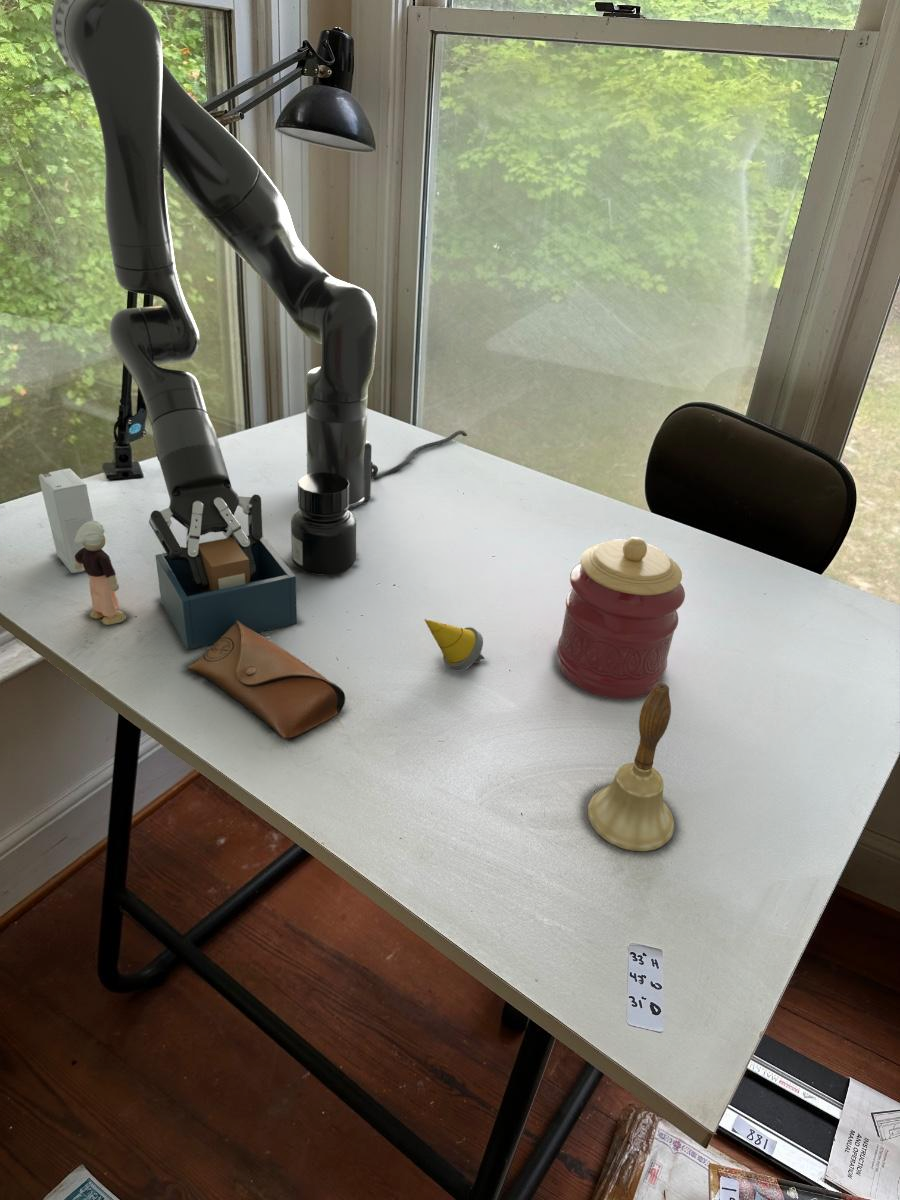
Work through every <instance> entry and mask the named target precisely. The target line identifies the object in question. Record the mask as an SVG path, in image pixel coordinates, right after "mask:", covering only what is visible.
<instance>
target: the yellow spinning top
mask: <svg viewBox="0 0 900 1200" xmlns="http://www.w3.org/2000/svg"><path fill="white" fill-rule="evenodd" d="M424 622H425V624H426V627H428V630H429V632H430V633H431V635H432V637H433V638H434V640H435V642H436V644H437V645H438V648H439V649H440V651H441V653H442V655H443V657H442V659H443V662H444V664H445V665H446V666H447V667H448V668H450V669H451V670H453V671H455V672H460V671H464V670H466V669H467V668H470V667H471V665H473V664H474V663H475V664H476V663H477V664H481V663H482V662H481V660H484V659H486V658H485V656H484V655H483V654H482V650H483V647H484V638H483V635H482V634H481V632H479V631H477V629H475V628H474V627H469V626H467V627H464V628H463V627H460V626H459V627H458V626H455V625H451V624H447V623H443V622H439V621H435V620H430V619H427V618H425V619H424Z"/></svg>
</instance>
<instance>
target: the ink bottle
mask: <svg viewBox="0 0 900 1200" xmlns="http://www.w3.org/2000/svg"><path fill="white" fill-rule="evenodd" d="M349 488H350V483H349V482H348V479H346V478H344V477H343V476H340V475H337V474H334V473H326V472H323V473H313V474H308V475H307V474H305V475H303V476H302V477H300V478H299V480H298V481H297V503H298V510H297V511H296V512H295V513H294V514H293V515H292V517H291V520H290V539H291V541H290V543H291V544H290V545H291V560H292V563H293V565H294V566H295V568H297V569H298V570H299V571H301V572H304V573H307V574H311V575H315V576H317V575H318V576H334V575H339V574H343V573H344V572H347V571H348V570H349V569H351V568H352V567H353V566H354V564H355V563H356V560H357V525H358V524H357V519H356V517H355V515H354V513H352V511H350V510H349V509H350V508H349Z"/></svg>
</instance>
